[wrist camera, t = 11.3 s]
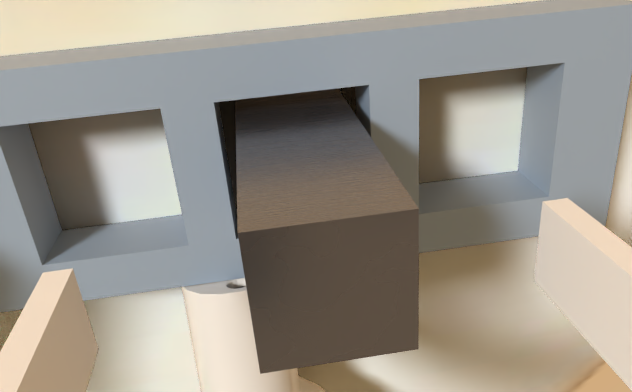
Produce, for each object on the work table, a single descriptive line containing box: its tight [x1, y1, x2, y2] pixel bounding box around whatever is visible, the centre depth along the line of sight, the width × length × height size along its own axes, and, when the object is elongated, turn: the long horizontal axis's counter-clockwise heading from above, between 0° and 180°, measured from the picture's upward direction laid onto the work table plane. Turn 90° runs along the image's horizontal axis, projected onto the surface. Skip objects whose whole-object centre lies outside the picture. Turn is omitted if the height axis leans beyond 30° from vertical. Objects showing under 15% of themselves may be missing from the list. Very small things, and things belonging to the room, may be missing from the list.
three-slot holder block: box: [0, 0, 632, 312], centre depth 24 cm, size 28×10×3 cm, turn 94°
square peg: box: [235, 88, 419, 374], centre depth 20 cm, size 4×4×12 cm
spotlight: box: [182, 278, 326, 392], centre depth 27 cm, size 8×11×8 cm
